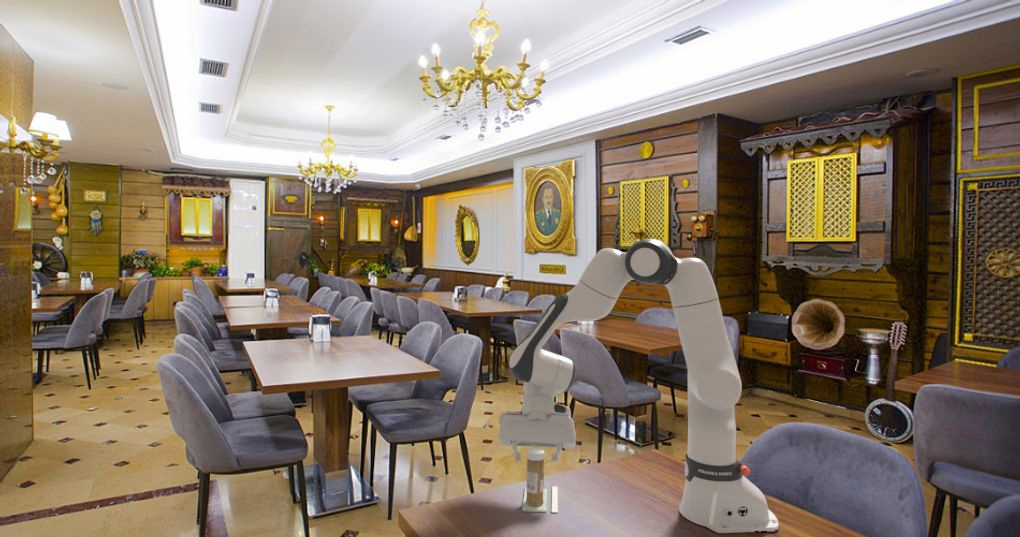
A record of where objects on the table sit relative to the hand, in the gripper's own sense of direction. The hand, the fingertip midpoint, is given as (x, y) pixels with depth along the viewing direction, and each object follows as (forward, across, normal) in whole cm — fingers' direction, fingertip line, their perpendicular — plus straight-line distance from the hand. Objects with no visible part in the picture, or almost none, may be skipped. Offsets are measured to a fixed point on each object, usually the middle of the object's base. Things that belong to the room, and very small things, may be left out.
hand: (536, 461), depth 141 cm
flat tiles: (+6, +1, +9) cm, 11 cm away
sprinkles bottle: (+8, 0, +7) cm, 10 cm away
